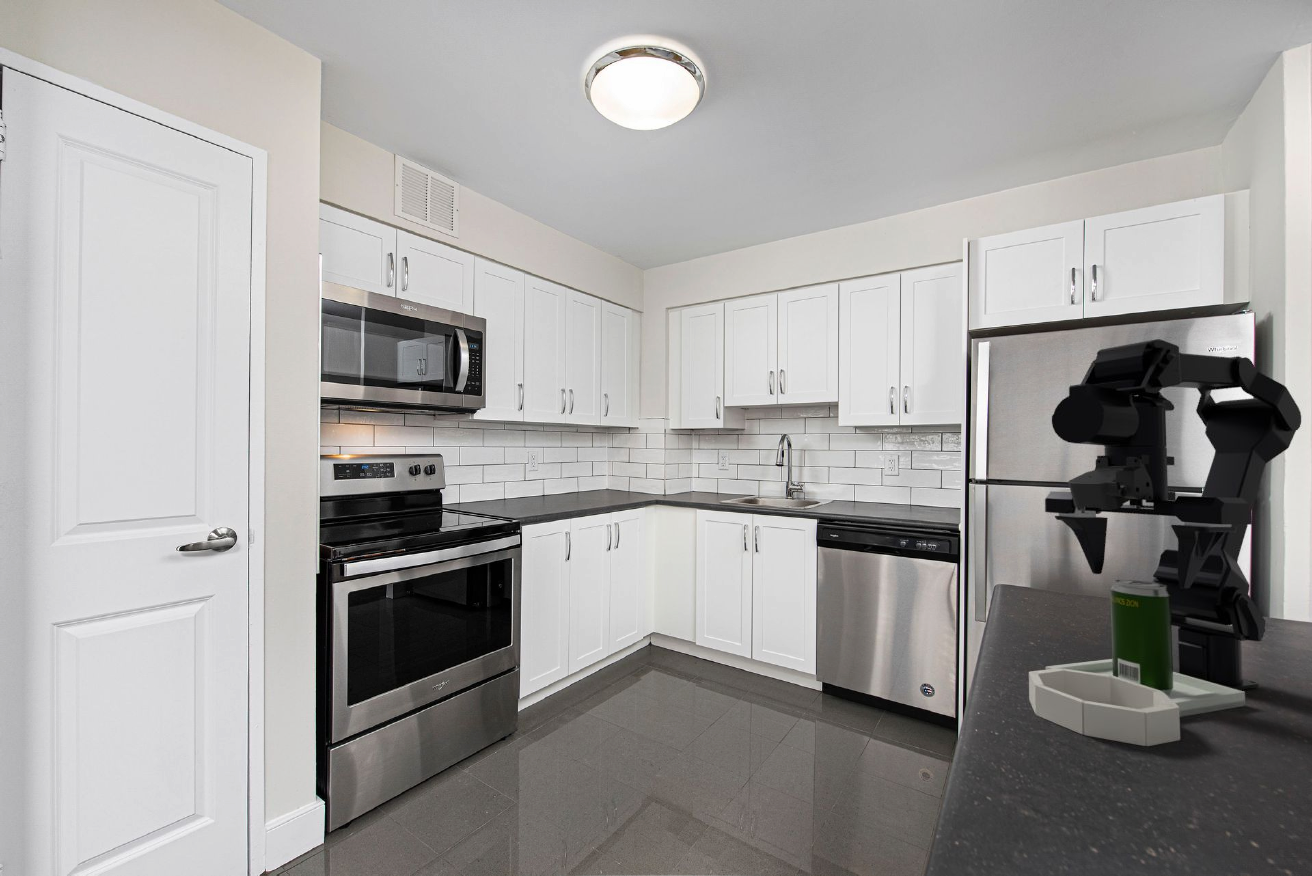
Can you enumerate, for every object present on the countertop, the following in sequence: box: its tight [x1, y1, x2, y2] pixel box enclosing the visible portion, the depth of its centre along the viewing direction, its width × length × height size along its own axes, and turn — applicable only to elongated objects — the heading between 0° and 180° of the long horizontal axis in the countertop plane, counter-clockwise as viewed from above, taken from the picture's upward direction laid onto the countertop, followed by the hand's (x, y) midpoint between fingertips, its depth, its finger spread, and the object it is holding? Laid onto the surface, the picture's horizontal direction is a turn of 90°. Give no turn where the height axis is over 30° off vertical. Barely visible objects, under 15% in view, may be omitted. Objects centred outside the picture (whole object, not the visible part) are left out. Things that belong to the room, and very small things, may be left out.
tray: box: [1045, 658, 1246, 718], centre depth 68 cm, size 14×12×2 cm
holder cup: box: [1028, 668, 1181, 747], centre depth 60 cm, size 12×12×3 cm
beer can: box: [1109, 579, 1174, 695], centre depth 67 cm, size 5×5×12 cm
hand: (1138, 580), depth 68 cm, fingers open, 9 cm apart
